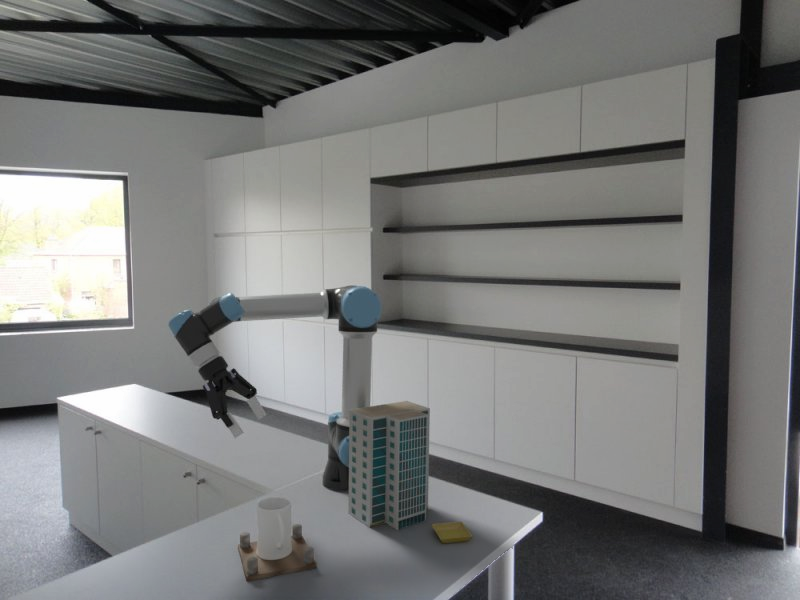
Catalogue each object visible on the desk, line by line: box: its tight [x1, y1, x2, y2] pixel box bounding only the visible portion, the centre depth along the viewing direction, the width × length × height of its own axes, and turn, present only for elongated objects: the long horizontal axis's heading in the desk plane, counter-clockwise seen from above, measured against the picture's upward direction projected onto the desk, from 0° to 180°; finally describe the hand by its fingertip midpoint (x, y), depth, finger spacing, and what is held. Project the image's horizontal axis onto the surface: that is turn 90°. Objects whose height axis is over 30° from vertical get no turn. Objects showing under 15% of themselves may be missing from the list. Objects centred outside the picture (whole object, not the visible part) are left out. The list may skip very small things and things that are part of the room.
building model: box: [348, 400, 431, 531], centre depth 163 cm, size 20×16×30 cm
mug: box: [256, 496, 292, 560], centre depth 137 cm, size 12×8×12 cm
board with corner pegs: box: [237, 523, 318, 582], centre depth 138 cm, size 16×16×4 cm
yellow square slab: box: [431, 521, 473, 544], centre depth 151 cm, size 9×9×2 cm
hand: (251, 426), depth 159 cm, fingers open, 13 cm apart
